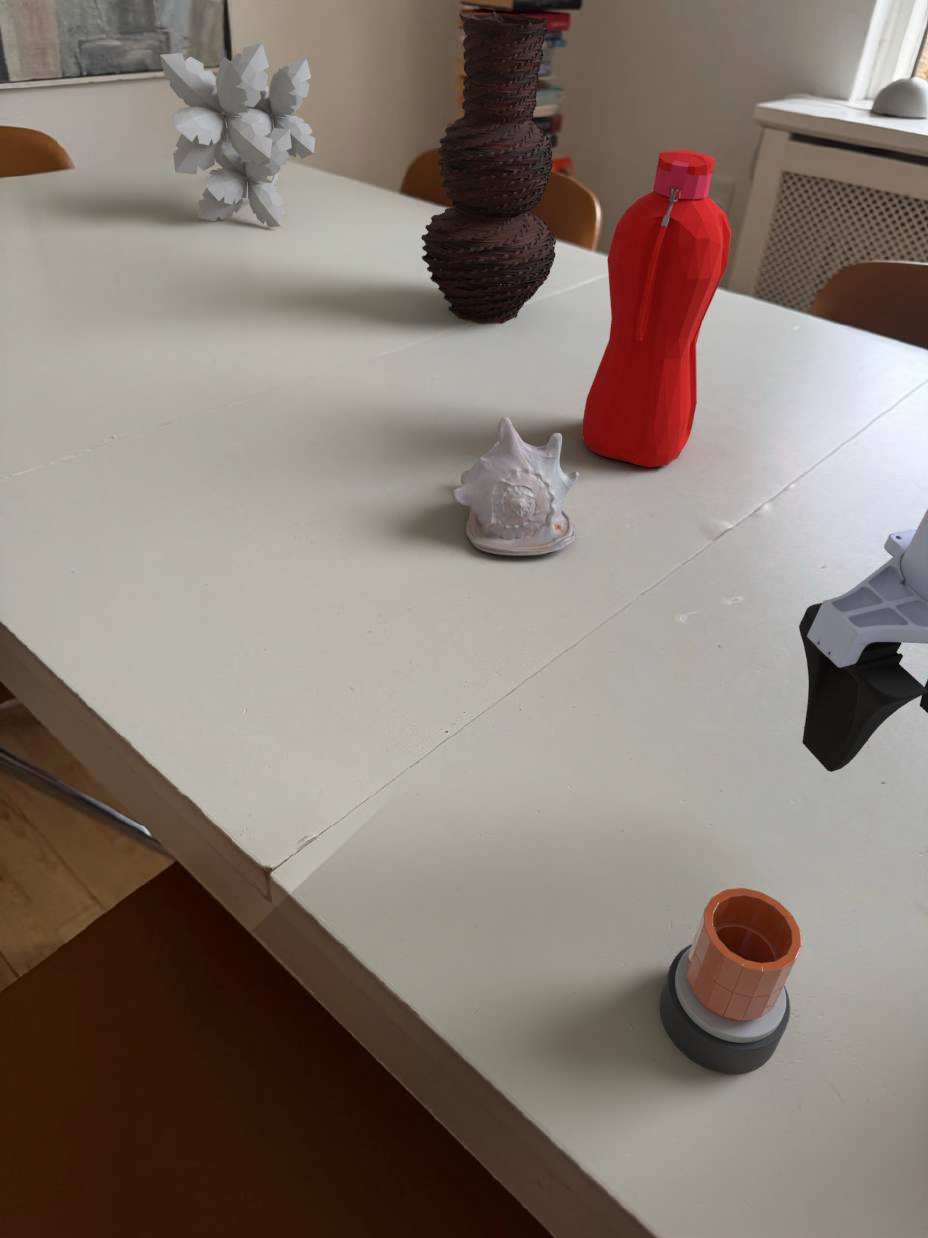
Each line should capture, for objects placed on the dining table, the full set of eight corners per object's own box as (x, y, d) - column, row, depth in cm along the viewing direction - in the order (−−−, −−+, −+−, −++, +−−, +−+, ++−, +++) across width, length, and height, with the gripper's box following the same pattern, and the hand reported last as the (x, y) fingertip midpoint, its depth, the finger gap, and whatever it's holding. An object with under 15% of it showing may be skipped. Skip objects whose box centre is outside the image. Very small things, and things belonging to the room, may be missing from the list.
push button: (795, 1006, 45) (810, 975, 43) (752, 1099, 41) (766, 1069, 40) (689, 944, 47) (700, 913, 46) (639, 1027, 44) (649, 996, 42)
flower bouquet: (368, 192, 154) (366, 40, 141) (261, 249, 128) (247, 69, 116) (271, 178, 158) (262, 28, 145) (149, 229, 133) (125, 54, 120)
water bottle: (563, 462, 86) (605, 158, 71) (601, 415, 94) (646, 133, 79) (664, 488, 83) (730, 178, 68) (694, 438, 91) (759, 151, 76)
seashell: (461, 567, 72) (469, 454, 66) (428, 487, 81) (433, 382, 75) (590, 556, 74) (608, 446, 68) (543, 479, 83) (556, 377, 78)
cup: (788, 977, 43) (815, 920, 41) (755, 1045, 41) (781, 989, 38) (706, 930, 45) (726, 872, 42) (668, 992, 42) (688, 935, 40)
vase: (561, 335, 110) (599, 30, 92) (428, 335, 108) (440, 21, 90) (533, 289, 122) (562, 11, 104) (412, 289, 120) (420, 3, 102)
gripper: (1061, 425, 43) (929, 651, 51) (812, 463, 37) (710, 711, 46) (1208, 513, 38) (1035, 746, 47) (949, 572, 32) (807, 825, 41)
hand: (881, 736), depth 46 cm, fingers open, 7 cm apart
